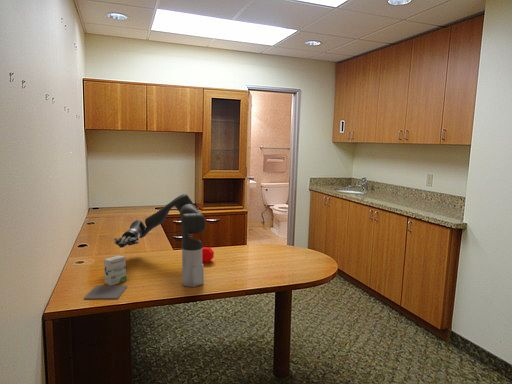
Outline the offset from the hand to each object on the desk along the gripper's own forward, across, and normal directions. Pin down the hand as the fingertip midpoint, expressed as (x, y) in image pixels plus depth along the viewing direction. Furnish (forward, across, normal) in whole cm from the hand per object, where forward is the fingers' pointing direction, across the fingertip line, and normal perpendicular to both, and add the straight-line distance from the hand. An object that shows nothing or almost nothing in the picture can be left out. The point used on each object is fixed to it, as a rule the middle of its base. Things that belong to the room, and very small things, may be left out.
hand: (121, 245), depth 182 cm
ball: (-19, -40, -15) cm, 47 cm away
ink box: (+10, 0, -15) cm, 18 cm away
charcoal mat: (+23, 0, -14) cm, 27 cm away
